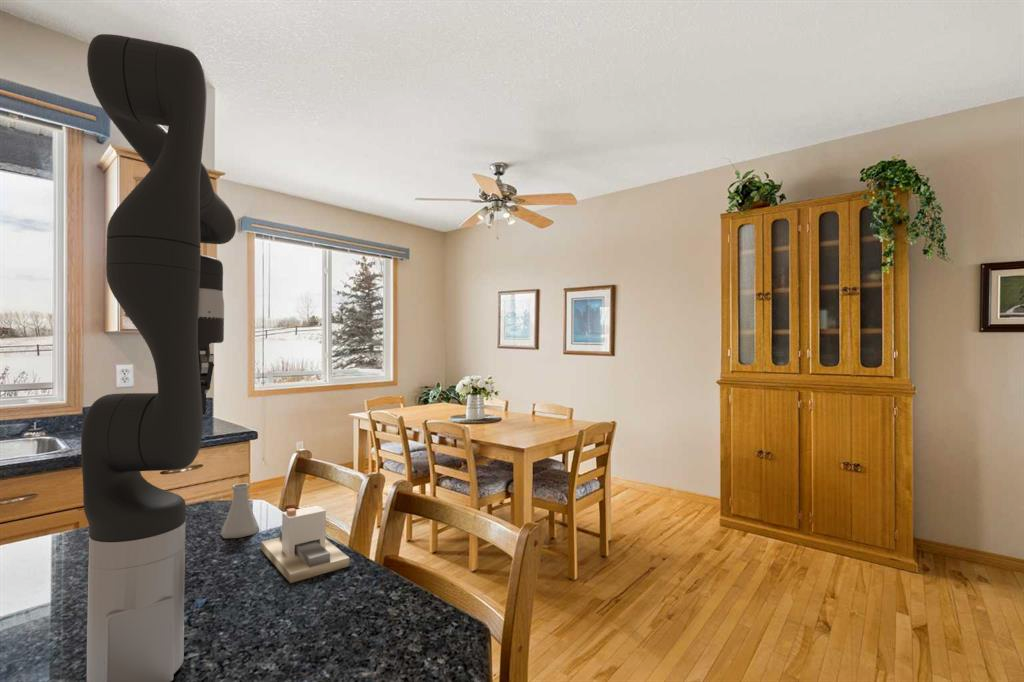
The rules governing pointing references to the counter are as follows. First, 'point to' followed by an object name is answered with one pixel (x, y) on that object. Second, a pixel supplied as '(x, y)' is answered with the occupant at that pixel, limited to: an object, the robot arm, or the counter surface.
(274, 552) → the rail board
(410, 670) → the counter surface
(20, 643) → the counter surface
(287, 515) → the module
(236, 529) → the flask
